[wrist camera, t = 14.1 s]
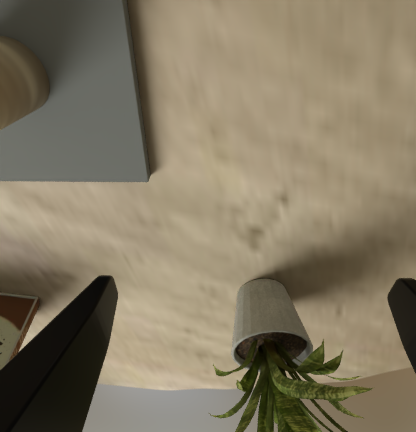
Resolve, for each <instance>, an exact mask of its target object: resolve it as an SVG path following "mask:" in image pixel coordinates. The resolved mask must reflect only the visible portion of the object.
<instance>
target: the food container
mask: <svg viewBox="0 0 416 432" xmlns="http://www.w3.org/2000/svg"><path fill="white" fill-rule="evenodd" d="M39 303H40V301H39V297H35V296H27V295H18V294H10V293H1V292H0V370H1V369H2V368H3V367H4V366H5V365H6V364H7V363H8V362H9V361H10V360H11V359H12V358H13V357H14V356H15V355H16V354H17V353H18V351H19V349H20V347H21V345H22V343H23V340H24V338H25V336H26V334H27V332H28V329H29V327H30V325H31V323H32V321H33V318H34V316H35V314H36V312H37V310H38V307H39Z"/></svg>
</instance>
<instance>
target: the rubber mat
mask: <svg viewBox="0 0 416 432" xmlns="http://www.w3.org/2000/svg"><path fill="white" fill-rule="evenodd" d="M0 36H5V37H9V38H12V39H15V40H17V41H19V42H20V43H22V44H24V45H25V46H26V47H28V48H29V49H30V50H31V51H32V52H33V53H34V54H35V55H36V56H37V58H38V59H39V60H40V62H41V63H42V65H43V67H44V68H45V70H46V73H47V76H48V79H49V86H50V90H49V96H48V99H47V101H46V102H45V104H44V105H43V106H42V107H40V108H39V109H37V110H35V111H33V112H32V113H30V114H28V115H26V116H25V117H23V118H21V119H19V120H18V121H16V122H14V123H12V124H10V125H9V126H7V127H5V128H3V129H2V130H0V181H67V182H148V181H149V178H150V176H151V175H150V168H149V161H148V153H147V146H146V139H145V131H144V124H143V116H142V109H141V102H140V94H139V87H138V79H137V72H136V65H135V57H134V50H133V42H132V35H131V28H130V20H129V13H128V5H127V0H0Z"/></svg>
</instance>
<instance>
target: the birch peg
mask: <svg viewBox="0 0 416 432" xmlns="http://www.w3.org/2000/svg"><path fill="white" fill-rule="evenodd" d="M49 90H50V86H49V79H48V76H47V73H46V70H45V68H44V67H43V65H42V63H41V62H40V60H39V59H38V58H37V56H36V55H35V54H34V53H33V52H32V51H31V50H30V49H29V48H28V47H26V46H25V45H24V44H22V43H20V42H19V41H17V40H15V39H12V38H9V37H5V36H0V130H2V129H3V128H5V127H7V126H9V125H10V124H12V123H14V122H16V121H18V120H19V119H21V118H23V117H25V116H26V115H28V114H30V113H32V112H33V111H35V110H37V109H39V108H40V107H42V106H43V105H44V104H45V102H46V101H47V99H48V96H49Z"/></svg>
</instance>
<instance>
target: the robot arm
mask: <svg viewBox="0 0 416 432" xmlns="http://www.w3.org/2000/svg"><path fill="white" fill-rule="evenodd" d="M117 300H118V291H117V288H116V285H115V281H114V278H113V277H112V276H110V275H101V276H98V277H97V278H96V279H95V280H94V281H93V282H92V283H91V284H90V285H89V286H87V287H86V288H85V289H84V290H83V291H82V292H81V293H80V294H79V295H78V296H77V297H76V298H75V299H74V300H73V301H72V302H71V303H70V304H69V305H68V306H67V307H66V308H64V309H63V310H62V311H61V312H60V313H59V314H58V315H57V316H56V317H55V318H54V319H53V320H52V321H51V322H50V323H49V324H48V325H47V326H46V327H45V328H44V329H43V330H41V331H40V332H39V333H38V334H37V335H36V336H35V337H34V338H33V339H32V340H31V341H30V342H29V343H28V344H27V345H26V346H25V347H24V348H23V349H22V350H21V351H19V352H18V353H17V354H16V355H15V356H14V357H13V358H12V359H11V360H10V361H9V362H8V363H7V364H6V365H5V366H4V367H3V368H2V369H1V370H0V432H82V430H83V427H84V424H85V420H86V417H87V414H88V411H89V407H90V404H91V401H92V397H93V394H94V391H95V388H96V385H97V382H98V379H99V375H100V372H101V369H102V366H103V362H104V359H105V356H106V353H107V349H108V346H109V341H110V336H111V331H112V326H113V321H114V315H115V310H116V305H117ZM388 303H389V306H390V309H391V312H392V315H393V318H394V321H395V324H396V327H397V330H398V332H399V335H400V338H401V341H402V344H403V346H404V349H405V351H406V354H407V356H408V358H409V360H410V362H411V365H412V367H413V369H414V371H415V373H416V280H415V279H412V278H399V279H397V280H396V282H395V283H394V285H393V287H392V288H391V290H390V292H389V294H388Z"/></svg>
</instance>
